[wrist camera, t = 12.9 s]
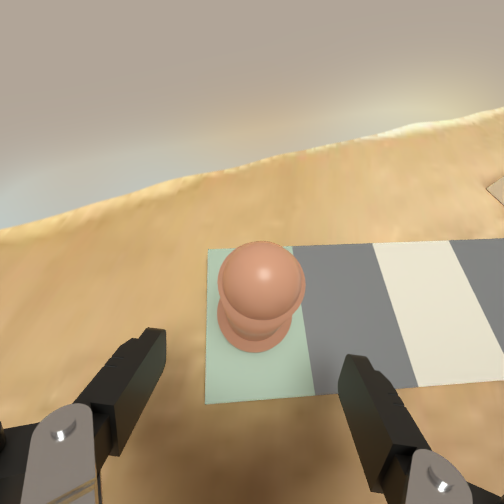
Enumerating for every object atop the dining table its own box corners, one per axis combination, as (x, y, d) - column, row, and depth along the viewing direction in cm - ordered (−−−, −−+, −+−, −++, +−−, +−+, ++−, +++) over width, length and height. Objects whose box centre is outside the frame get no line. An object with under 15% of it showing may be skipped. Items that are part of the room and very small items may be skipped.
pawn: (284, 279, 17) (320, 207, 9) (293, 350, 15) (349, 333, 7) (218, 282, 17) (198, 210, 9) (218, 355, 15) (191, 342, 7)
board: (503, 246, 21) (521, 237, 20) (577, 370, 17) (607, 371, 15) (210, 257, 19) (208, 249, 18) (208, 400, 15) (205, 404, 14)
